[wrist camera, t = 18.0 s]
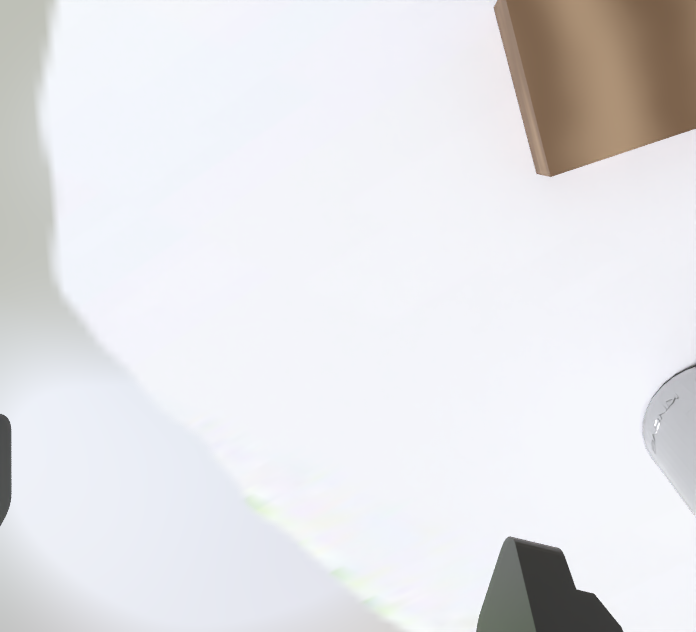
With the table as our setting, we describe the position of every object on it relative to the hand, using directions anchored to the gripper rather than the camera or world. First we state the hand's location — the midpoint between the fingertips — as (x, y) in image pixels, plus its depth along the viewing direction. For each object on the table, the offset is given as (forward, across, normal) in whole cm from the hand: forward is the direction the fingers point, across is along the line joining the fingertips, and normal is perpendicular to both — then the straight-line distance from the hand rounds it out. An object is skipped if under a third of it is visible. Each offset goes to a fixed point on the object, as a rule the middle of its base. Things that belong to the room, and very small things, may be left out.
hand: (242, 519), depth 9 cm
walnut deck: (+30, -12, -14) cm, 35 cm away
